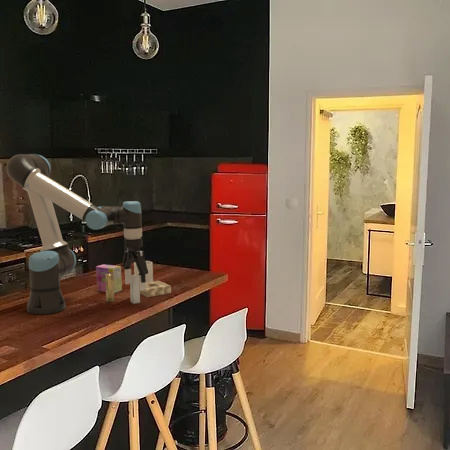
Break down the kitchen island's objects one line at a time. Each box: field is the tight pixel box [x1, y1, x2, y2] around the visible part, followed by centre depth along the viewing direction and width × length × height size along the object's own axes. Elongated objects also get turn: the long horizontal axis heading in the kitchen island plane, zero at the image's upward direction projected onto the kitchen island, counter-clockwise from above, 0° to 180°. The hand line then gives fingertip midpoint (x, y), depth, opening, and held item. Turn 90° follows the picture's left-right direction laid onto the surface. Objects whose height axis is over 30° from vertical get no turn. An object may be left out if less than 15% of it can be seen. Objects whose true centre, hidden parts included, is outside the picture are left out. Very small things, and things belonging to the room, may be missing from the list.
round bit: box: [105, 274, 115, 303], centre depth 230 cm, size 3×3×12 cm
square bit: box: [129, 273, 141, 305], centre depth 228 cm, size 3×3×12 cm
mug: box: [133, 260, 154, 283], centre depth 260 cm, size 12×9×11 cm
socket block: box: [140, 280, 172, 298], centre depth 245 cm, size 12×12×4 cm
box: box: [95, 264, 123, 294], centre depth 248 cm, size 10×6×12 cm, turn 62°
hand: (135, 286), depth 228 cm, fingers open, 13 cm apart
